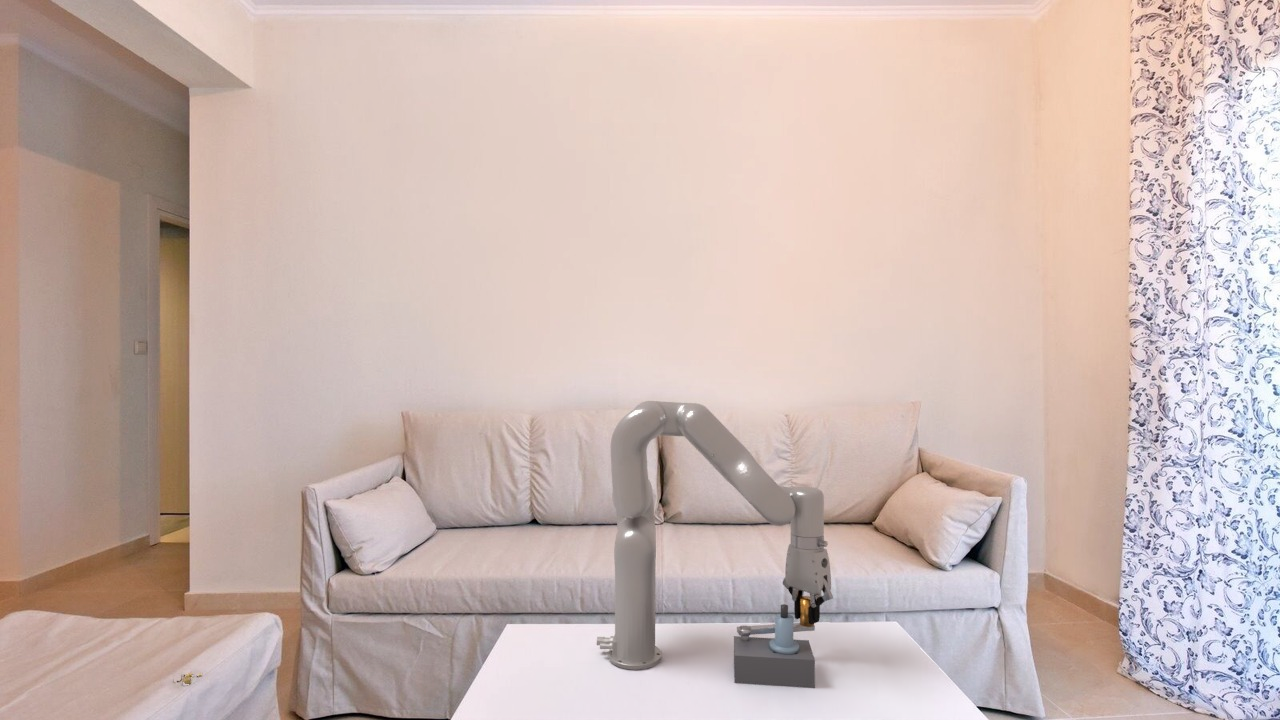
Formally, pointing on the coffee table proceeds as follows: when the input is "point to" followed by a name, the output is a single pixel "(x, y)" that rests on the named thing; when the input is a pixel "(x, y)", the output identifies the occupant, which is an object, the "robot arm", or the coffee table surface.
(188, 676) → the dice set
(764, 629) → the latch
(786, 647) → the plug
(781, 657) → the socket block
